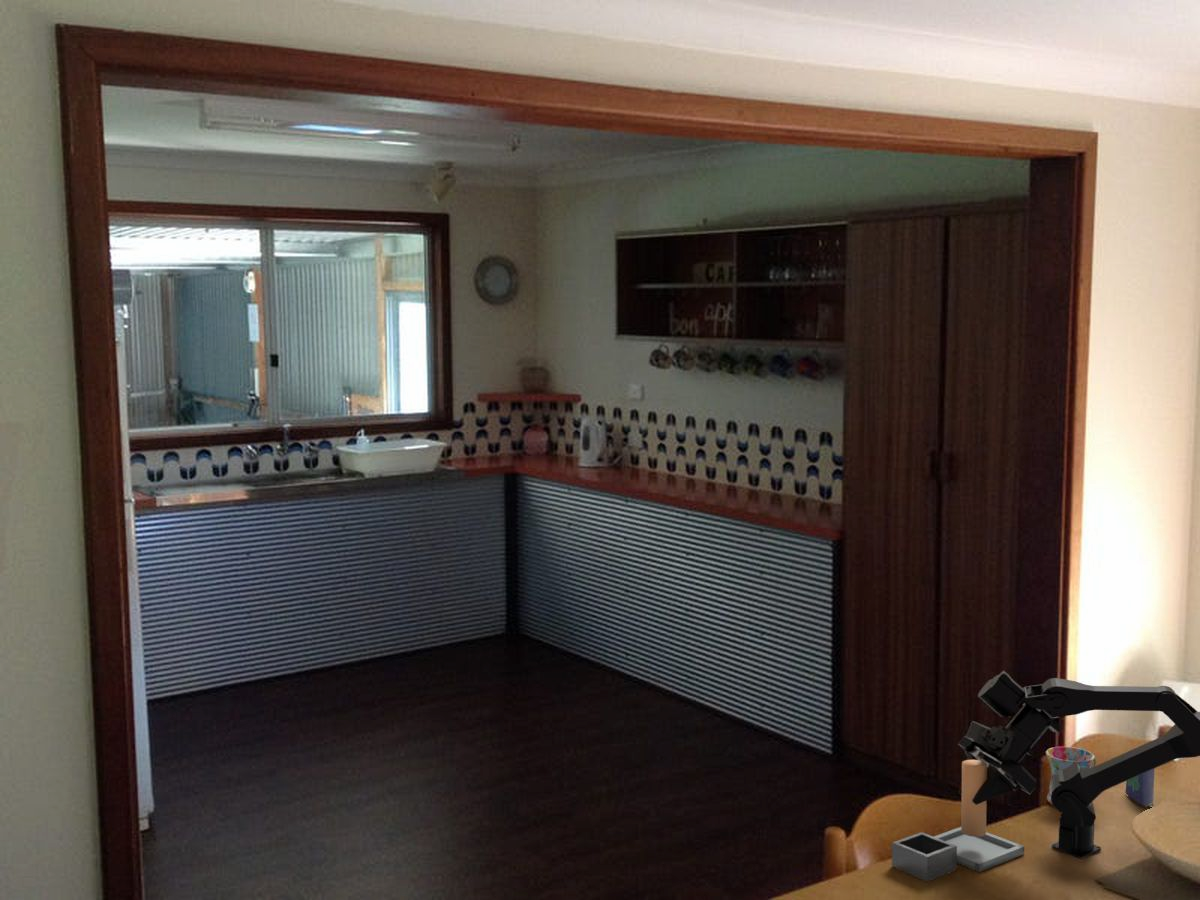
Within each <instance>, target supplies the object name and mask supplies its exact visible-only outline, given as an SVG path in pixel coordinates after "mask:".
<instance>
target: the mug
mask: <svg viewBox="0 0 1200 900" xmlns="http://www.w3.org/2000/svg"><path fill="white" fill-rule="evenodd" d="M1045 754H1046V757H1047V760H1048V763H1049V766H1050V770H1051V779H1052V778H1053V777H1054V776H1055V775H1057V770H1062V769H1066V768H1068V767H1069V766H1071V765H1072V764H1074V763H1076V762H1077V763H1078V765H1079V768H1080V769H1085V768H1092V767H1095V766H1096V765H1097V764H1096V762H1097V760H1096V757H1095V754H1094V753H1093V752H1091V751H1089V750H1087V749H1083V748H1079V747H1073V746H1054V747H1050V748H1048V749H1046V751H1045ZM1046 799H1047V801H1048V803H1050V804H1051V805H1053V804H1052V802H1051V796H1050V791H1049V792H1048V793H1047V796H1046Z"/></svg>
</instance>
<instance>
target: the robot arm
mask: <svg viewBox="0 0 1200 900" xmlns="http://www.w3.org/2000/svg"><path fill="white" fill-rule="evenodd" d="M977 697H978V698H980V700H981V701H982V702H983V703H985V704H986V705H987V706H988V707H990V709H992V710H993V711H994V713H996V714H997V715H998V716H1000V717H1001V718H1003V717H1006V718H1012V717H1013V716H1014V715H1015V716H1014V717H1013V718H1012V720H1010V722H1009V723H1008V724H1007V725H1006V726H1003V724H1002V725H999V726H992V727H991V728H990V727H988V726H986V725H984V724H981V723H979V722H976V721H973V720H972V721H971V723H970V726H969V728H968V730H967V733H966V734H965V735H963V737H962V738H961V739H959V741H958V742H957V745H958V746H960V748H962V749H963V750H964V752H965V755H966V756H967V760H979V761H983V762H985V763H986V764H987V779H986V781H985V782H984V784H983V785H982V786H981V788H980V789H979V790H978V792H977V793H976V795H975V796H974V798H973V800H972V802H973V803H974V804H976V805H977V804H980V803H982V802H984V801H986V802H987V801H988V800H991V799H994V798H996V797H998V796H1001V795H1005V794H1007V793H1010V792H1012V791H1014V792H1018V790H1019V789H1018V788H1017V787H1016V786H1018V785H1019V788H1020V789H1021V790H1022V791H1023V792H1024V793H1026V794H1029V795H1031V794H1032V793H1033V792H1034V791H1035V790H1036V789H1037V787H1038V786H1037V783H1038V781H1037V780H1038V779H1036V778H1035V777H1034V776H1033V775H1032V773H1031V772H1029V770H1028V769H1026V768H1025V767H1024V766H1023V764H1020V762H1021V761H1022V760H1023V759H1024V758H1025V756H1026V755H1028V756H1030V757H1032V756H1033V755H1034V753H1035V751H1034V750H1033V747H1034V746H1035V744H1037V742H1038V741H1039V739H1041V737H1042V736H1043V735H1044V734H1045V733H1046V731H1048V729H1049V730H1050V731H1052V732H1053V733H1061V732H1062V727H1061V723H1060V722H1061V717H1062V718H1063V717H1068V716H1076V715H1080V714H1082V713H1083V714H1084V713H1086V712H1089V711H1124V712H1125V711H1130V712H1132V711H1134V712H1136V711H1137V712H1162V713H1163V714H1164V715H1165V716H1167V718H1169V720H1171V722H1173V723H1174V724H1173V725H1172V726H1171V728H1170V729H1168V731H1166V732H1165V733H1164V734H1163V735H1161V736H1160V737H1158V738H1155V739H1153V740H1150V741H1148V742H1146V743H1143V744H1142V745H1140V746H1137V747H1135V748H1133V749H1130V750H1129V751H1126V752H1124V753H1122V754H1119V755H1118V756H1115V757H1113V758H1111V759H1108V760H1107V761H1103V762H1102V763H1100V764H1096V765H1095V767H1092V768H1091V767H1090V768H1085V769H1080V768H1079V765H1078V763H1077V762H1076V763H1074V764H1072V765H1071V766H1069V767H1068V768H1066V769H1062V770H1057V775H1055V776H1054V777H1053V778H1052V777H1051V779H1050V782H1049V792H1050V796H1051V802H1052V804H1051V805H1052V806H1053V807H1054V808H1055V810H1056V811H1058V812H1060V813H1061V814H1060V817H1059V826H1058V841H1057V842H1055V843H1053V844H1051V848H1052V849H1055V850H1057V851H1060V852H1062V853H1065V854H1068V855H1070V856H1073V857H1077V858H1079V859H1083V858H1085V857H1086V858H1087V857H1088V856H1091V855H1093V854H1096V853H1098V852H1100V851H1101V850H1102V847H1100V846H1099V845H1096V844H1094V843H1095V821H1096V819H1097V816H1096V812H1095V807H1094V803H1093V802H1094V801H1095V800H1096V799H1097V798H1098V797H1099V796H1100V795H1101V794H1102V793H1104V792H1105V791H1106V790H1109V789H1112V788H1113V787H1116V786H1118V785H1120V784H1122V783H1124V782H1126V781H1127V780H1129V779H1132V778H1134V777H1136V776H1138V775H1141V774H1143V773H1145V772H1147V771H1150V770H1152V769H1154V768H1155V769H1156V768H1158V767H1160V766H1163V765H1165V764H1168V763H1170V762H1173V761H1174V760H1177V759H1178V760H1179V759H1188V758H1191V759H1192V758H1198V757H1200V711H1198V710H1197V709H1196V708H1195V707H1193V705H1191V704H1190V703H1188V702H1187V701H1186V700H1185V699H1184V698H1182V697H1181V696H1180V695H1178V694H1177V693H1176V692H1175V690H1174V689H1173V688H1172V687H1170V686H1169V685H1159V686H1126V685H1125V686H1124V685H1123V686H1119V685H1118V686H1115V685H1109V686H1108V685H1090V684H1085V683H1082V682H1080V681H1076V680H1069V679H1065V678H1060V677H1059V678H1058V677H1052V678H1047V680H1045V681H1044V682H1043V683H1042V684H1041V683H1040V684H1035V685H1028V686H1024V687H1022V686H1021V685H1020V684H1019V683H1017V682H1016V681H1015V680H1014V679H1013V678H1012V677H1011V675H1010V674H1009V673H1007V672H1006V671H1005V670H1002V671H1001V672H1000V673H999V674H997V675H995V676H994V677H993V678H992V679H988V681H986V683H985V684H984V685H983V687H982V688H981V689H980V691H978V694H977ZM1155 769H1154V770H1155ZM958 793H959V794H960V795H961V796H962V783H961V784H960V786H959V789H958Z"/></svg>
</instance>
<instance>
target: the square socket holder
mask: <svg viewBox="0 0 1200 900" xmlns="http://www.w3.org/2000/svg"><path fill="white" fill-rule="evenodd" d="M957 864H958V863H957V846H956V845H953V844H951V843H948V842H946V841H943V840H941V839H938V838H936V837H934V836H933V835H931V834H928V833H925V832H922V831H921V832H917V833H915V834H912V835H910V836H907V837H904V838H901V839H898V840H896V841H893V842H892V843H891V867H892V866H893V867H892V868H894V867H895V868H894V869H896V868H898V869H897V870H899V869H900V870H899V871H901V870H902V871H901V872H903V871H904V872H903V873H905V872H906V874H908V873H909V874H908V875H910V874H911V875H910V876H912V875H913V876H912V877H914V878H918V879H920V880H922V881H924V882H926V883H927V882H930V881H932V880H935V879H938V878H940V877H943V876H945V875H944V874H946V875H947V873H948V874H950V873H949V872H951V873H953V872H955V871H954V870H956V871H957ZM952 871H953V872H952ZM942 875H943V876H942Z"/></svg>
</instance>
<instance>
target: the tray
mask: <svg viewBox="0 0 1200 900" xmlns="http://www.w3.org/2000/svg"><path fill="white" fill-rule="evenodd" d="M933 837H936V838H938V839H941V840H943V841H946V842H948V843H951V844H953V845H956V846H957V864H958V863H959V864H958V865H960V864H961V865H960V866H963V865H964V866H963V867H965V866H966V867H965V868H967V867H968V868H967V869H970V868H971V869H970V870H972V869H974V870H973V871H975V870H976V871H975V872H977V871H978V873H981V872H983V871H982V870H984V871H986V870H989V869H991V868H994V867H996V866H998V865H1001V864H1003V863H1006V862H1008V861H1011V860H1014V859H1015V858H1019V857H1021V856H1023V855H1025V846H1024V845H1021V844H1018V843H1017V842H1015V841H1014V842H1013V841H1011V840H1008V839H1006V838H1004V837H1000V836H998V835H995V834H992V833H990V832H987V831H986V834H985V835H984V836H980V837H973V836H968V835H965V834H963V833H962V832H961V826H958V827H956V828H953V829H951V830H949V831H945V832H943V833H939V834H937V835H935V836H933ZM993 866H994V867H993ZM988 868H989V869H988ZM985 869H986V870H985ZM980 871H981V872H980Z"/></svg>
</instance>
